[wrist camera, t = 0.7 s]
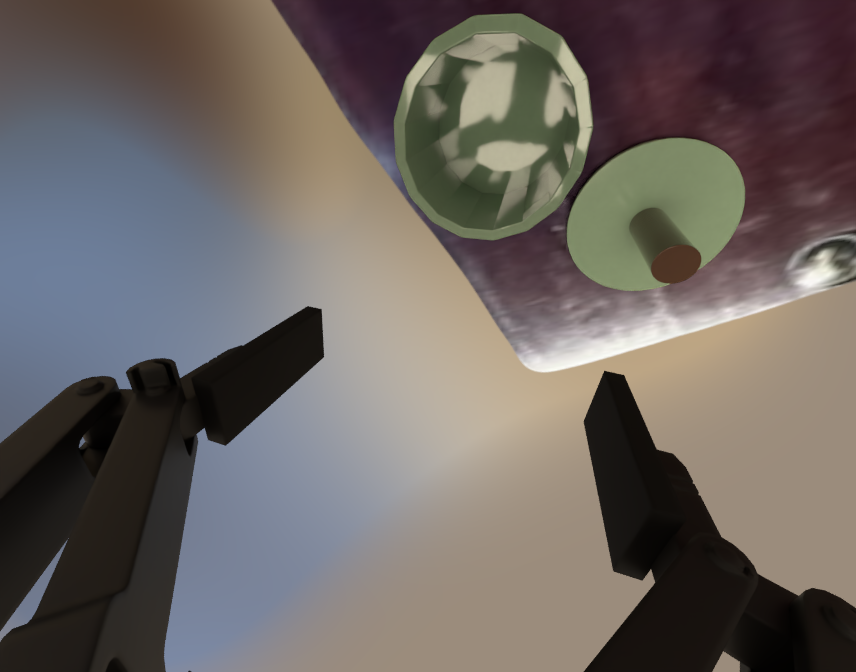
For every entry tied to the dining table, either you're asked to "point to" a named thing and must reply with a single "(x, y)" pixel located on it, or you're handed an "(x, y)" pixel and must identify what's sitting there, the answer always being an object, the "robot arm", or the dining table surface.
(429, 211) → the pot
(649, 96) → the dining table surface
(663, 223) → the lid
